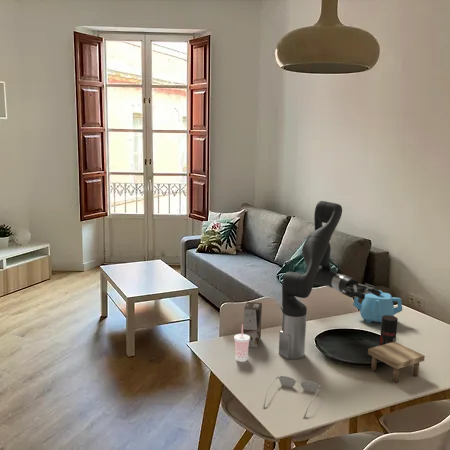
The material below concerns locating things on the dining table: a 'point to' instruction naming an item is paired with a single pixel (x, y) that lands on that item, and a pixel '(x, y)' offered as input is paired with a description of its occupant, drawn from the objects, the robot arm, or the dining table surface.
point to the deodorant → (388, 329)
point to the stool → (395, 357)
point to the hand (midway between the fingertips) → (372, 295)
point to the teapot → (377, 306)
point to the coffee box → (253, 322)
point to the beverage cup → (241, 346)
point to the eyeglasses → (291, 382)
